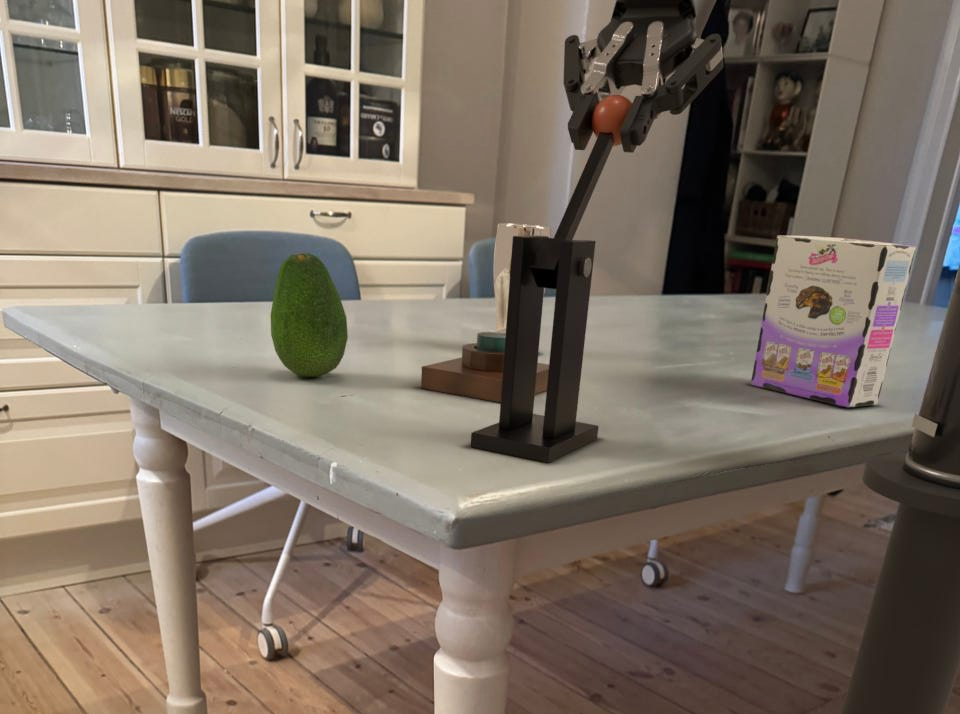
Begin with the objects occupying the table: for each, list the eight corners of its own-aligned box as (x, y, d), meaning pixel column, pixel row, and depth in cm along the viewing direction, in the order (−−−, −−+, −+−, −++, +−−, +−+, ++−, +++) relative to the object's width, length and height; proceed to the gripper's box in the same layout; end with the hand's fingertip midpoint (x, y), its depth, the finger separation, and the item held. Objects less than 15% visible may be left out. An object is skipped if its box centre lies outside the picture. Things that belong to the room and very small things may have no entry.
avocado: (259, 372, 97) (254, 248, 92) (326, 368, 101) (325, 250, 96) (292, 387, 91) (289, 256, 86) (362, 382, 96) (363, 257, 90)
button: (516, 352, 97) (518, 335, 96) (500, 356, 94) (502, 338, 93) (486, 348, 98) (487, 330, 98) (470, 351, 96) (471, 334, 95)
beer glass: (533, 348, 124) (544, 225, 117) (547, 357, 118) (559, 228, 111) (482, 346, 122) (490, 222, 116) (494, 355, 116) (503, 225, 109)
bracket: (525, 425, 83) (541, 233, 76) (597, 439, 80) (621, 241, 73) (470, 447, 75) (483, 235, 68) (548, 463, 72) (569, 243, 65)
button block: (557, 386, 101) (561, 348, 99) (506, 403, 91) (510, 361, 89) (477, 373, 105) (479, 336, 103) (420, 388, 95) (422, 347, 93)
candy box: (879, 406, 103) (920, 244, 95) (847, 410, 99) (886, 243, 92) (779, 381, 112) (809, 234, 105) (747, 384, 109) (775, 232, 102)
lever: (605, 120, 77) (596, 83, 74) (646, 122, 76) (639, 84, 72) (531, 291, 74) (518, 260, 70) (572, 296, 72) (561, 264, 69)
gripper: (586, -57, 77) (508, 99, 73) (755, -67, 71) (681, 103, 67) (604, 28, 84) (533, 176, 80) (760, 26, 78) (692, 185, 74)
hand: (601, 141), depth 73 cm, fingers closed on lever, 3 cm apart
